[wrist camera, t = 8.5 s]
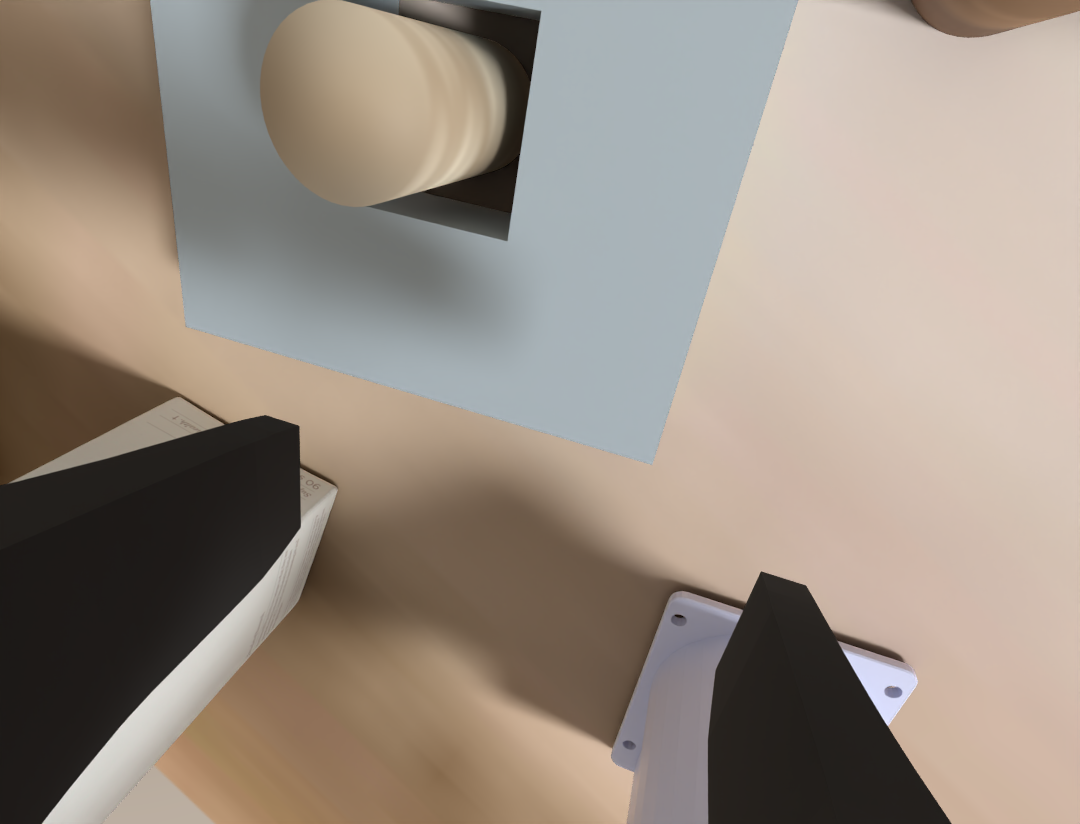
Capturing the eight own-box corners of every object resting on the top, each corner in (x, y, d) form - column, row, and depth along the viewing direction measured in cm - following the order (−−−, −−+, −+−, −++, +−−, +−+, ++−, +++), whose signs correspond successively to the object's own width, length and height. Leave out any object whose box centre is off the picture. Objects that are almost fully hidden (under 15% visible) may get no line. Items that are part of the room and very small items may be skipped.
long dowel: (525, 183, 17) (421, 223, 11) (416, 161, 17) (265, 188, 12) (542, 47, 15) (434, 15, 10) (422, 27, 16) (253, -14, 10)
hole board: (663, 414, 19) (652, 464, 16) (254, 299, 21) (186, 326, 18) (857, -214, 12) (892, -302, 9) (223, -286, 14) (109, -374, 12)
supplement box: (345, 483, 23) (6, 816, 12) (301, 602, 27) (9, 938, 16) (178, 386, 24) (-302, 629, 13) (156, 517, 27) (-229, 792, 16)
